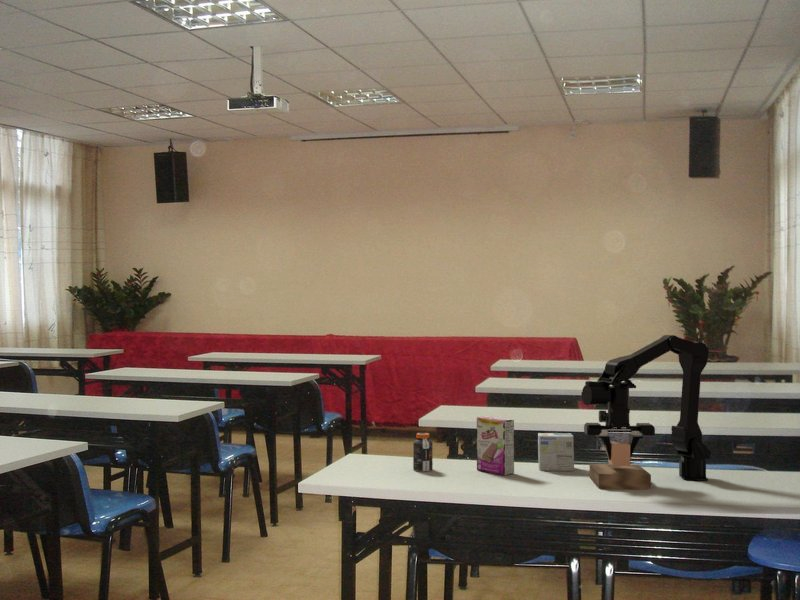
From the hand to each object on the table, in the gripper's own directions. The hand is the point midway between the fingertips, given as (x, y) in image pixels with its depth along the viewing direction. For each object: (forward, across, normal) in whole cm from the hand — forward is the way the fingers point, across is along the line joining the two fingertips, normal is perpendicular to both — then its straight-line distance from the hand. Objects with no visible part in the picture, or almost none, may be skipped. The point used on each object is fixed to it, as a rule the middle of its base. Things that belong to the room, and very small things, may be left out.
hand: (619, 459), depth 219 cm
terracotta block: (+1, 0, 0) cm, 1 cm away
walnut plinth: (+7, 0, 0) cm, 7 cm away
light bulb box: (+7, +15, -20) cm, 26 cm away
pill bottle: (+7, +56, -16) cm, 59 cm away
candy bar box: (+7, +34, -14) cm, 38 cm away
